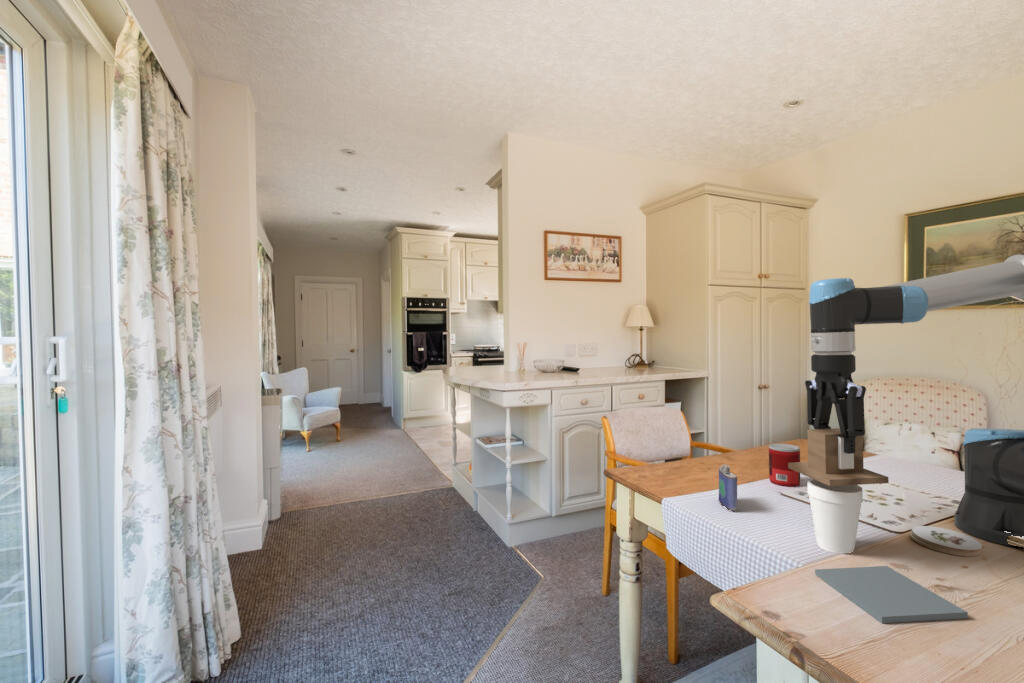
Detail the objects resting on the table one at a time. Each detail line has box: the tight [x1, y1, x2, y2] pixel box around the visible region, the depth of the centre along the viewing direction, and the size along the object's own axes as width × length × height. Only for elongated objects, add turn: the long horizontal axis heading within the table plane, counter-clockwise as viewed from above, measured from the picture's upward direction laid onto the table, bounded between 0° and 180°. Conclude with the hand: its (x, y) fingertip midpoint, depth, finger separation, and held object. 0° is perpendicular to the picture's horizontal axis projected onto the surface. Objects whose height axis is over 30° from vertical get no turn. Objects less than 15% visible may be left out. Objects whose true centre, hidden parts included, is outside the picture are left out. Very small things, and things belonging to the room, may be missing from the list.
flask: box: [718, 464, 739, 512], centre depth 116 cm, size 9×3×11 cm, turn 172°
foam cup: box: [806, 478, 864, 555], centre depth 93 cm, size 10×9×13 cm
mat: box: [814, 565, 969, 624], centre depth 76 cm, size 14×14×1 cm
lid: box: [788, 427, 889, 486], centre depth 93 cm, size 12×12×9 cm
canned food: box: [768, 443, 801, 488], centre depth 133 cm, size 8×8×11 cm
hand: (835, 464), depth 93 cm, fingers closed on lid, 5 cm apart
